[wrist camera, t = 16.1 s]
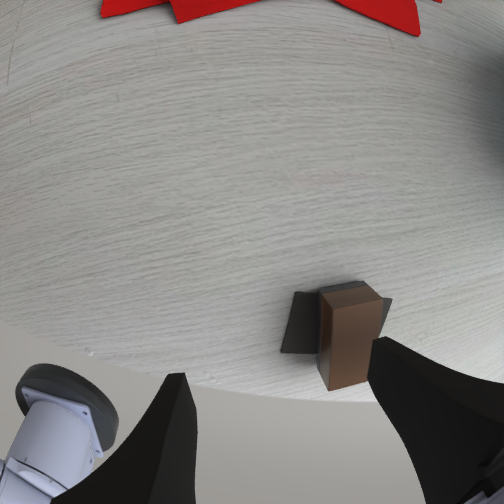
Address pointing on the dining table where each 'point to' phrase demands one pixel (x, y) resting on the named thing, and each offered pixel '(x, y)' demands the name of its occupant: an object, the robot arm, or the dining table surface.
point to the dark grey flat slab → (310, 324)
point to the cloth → (204, 3)
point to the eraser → (346, 332)
